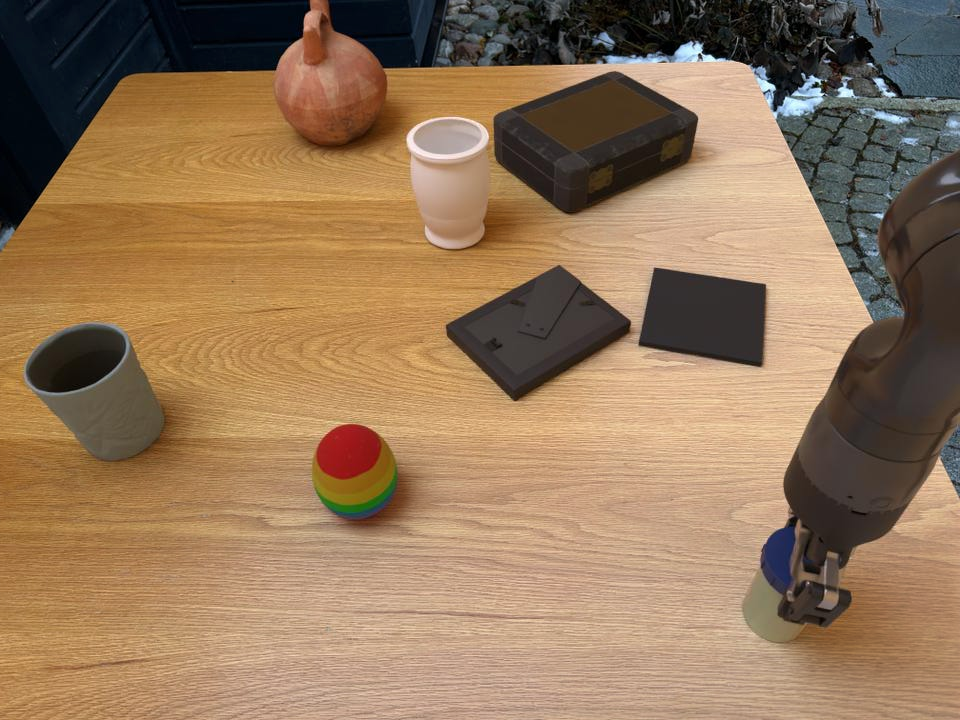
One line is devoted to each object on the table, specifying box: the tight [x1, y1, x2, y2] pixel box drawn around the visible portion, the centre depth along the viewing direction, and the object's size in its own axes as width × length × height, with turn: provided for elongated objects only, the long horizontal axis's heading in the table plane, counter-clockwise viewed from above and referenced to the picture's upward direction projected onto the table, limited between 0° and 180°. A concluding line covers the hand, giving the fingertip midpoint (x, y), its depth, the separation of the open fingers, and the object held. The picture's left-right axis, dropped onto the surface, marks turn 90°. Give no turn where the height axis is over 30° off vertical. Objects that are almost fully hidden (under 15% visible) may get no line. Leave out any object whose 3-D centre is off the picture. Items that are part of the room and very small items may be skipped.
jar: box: [406, 116, 492, 250], centre depth 100 cm, size 11×10×15 cm
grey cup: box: [23, 321, 165, 462], centre depth 78 cm, size 10×10×12 cm
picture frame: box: [445, 264, 632, 402], centre depth 90 cm, size 13×2×18 cm
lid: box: [759, 526, 817, 596], centre depth 59 cm, size 6×6×2 cm
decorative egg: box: [311, 423, 399, 520], centre depth 72 cm, size 8×8×10 cm
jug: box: [272, 0, 388, 147], centre depth 119 cm, size 18×18×20 cm
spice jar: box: [741, 563, 808, 643], centre depth 62 cm, size 5×5×9 cm
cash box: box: [493, 70, 699, 213], centre depth 114 cm, size 25×20×8 cm
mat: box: [638, 267, 767, 368], centre depth 91 cm, size 14×14×1 cm
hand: (791, 580), depth 61 cm, fingers closed on lid, 5 cm apart
